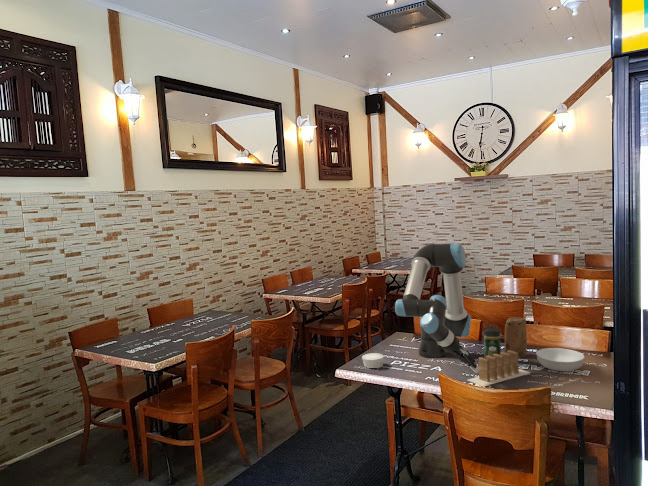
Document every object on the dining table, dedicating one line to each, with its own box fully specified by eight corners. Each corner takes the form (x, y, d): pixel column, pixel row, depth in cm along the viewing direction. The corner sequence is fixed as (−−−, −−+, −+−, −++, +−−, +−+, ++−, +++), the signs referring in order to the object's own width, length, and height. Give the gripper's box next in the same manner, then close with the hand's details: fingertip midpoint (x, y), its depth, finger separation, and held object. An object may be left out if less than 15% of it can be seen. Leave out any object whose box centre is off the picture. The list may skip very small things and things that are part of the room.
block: (527, 354, 253) (527, 317, 252) (525, 358, 247) (524, 320, 246) (506, 352, 259) (505, 315, 258) (503, 356, 253) (502, 319, 251)
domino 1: (487, 382, 216) (486, 360, 215) (479, 379, 220) (478, 357, 219) (490, 381, 216) (489, 359, 216) (481, 378, 221) (481, 357, 220)
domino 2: (494, 380, 218) (494, 358, 217) (486, 377, 222) (485, 355, 221) (497, 379, 218) (496, 358, 218) (489, 376, 223) (488, 355, 222)
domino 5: (516, 374, 224) (515, 353, 223) (507, 371, 228) (507, 350, 227) (518, 373, 224) (518, 352, 224) (510, 370, 229) (509, 350, 228)
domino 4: (509, 376, 222) (508, 355, 221) (500, 373, 226) (500, 352, 225) (511, 375, 222) (511, 354, 222) (503, 372, 227) (502, 351, 226)
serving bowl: (526, 366, 237) (526, 352, 236) (557, 358, 245) (557, 345, 244) (562, 379, 218) (562, 364, 217) (595, 370, 226) (594, 356, 225)
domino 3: (502, 378, 220) (501, 356, 219) (493, 375, 224) (493, 354, 223) (504, 377, 220) (504, 356, 220) (496, 374, 225) (495, 353, 224)
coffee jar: (484, 359, 249) (483, 324, 248) (501, 360, 246) (500, 325, 245) (484, 366, 240) (483, 329, 239) (501, 367, 237) (500, 330, 236)
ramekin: (360, 369, 246) (359, 358, 245) (365, 362, 256) (365, 352, 256) (381, 370, 242) (381, 360, 241) (386, 363, 252) (386, 353, 252)
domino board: (482, 388, 211) (482, 386, 211) (466, 381, 220) (466, 379, 220) (531, 374, 224) (530, 372, 224) (513, 369, 233) (513, 367, 233)
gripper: (432, 343, 212) (463, 373, 221) (453, 351, 201) (484, 381, 209) (442, 330, 214) (471, 359, 223) (462, 336, 203) (492, 367, 211)
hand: (477, 370), depth 216 cm, fingers closed
